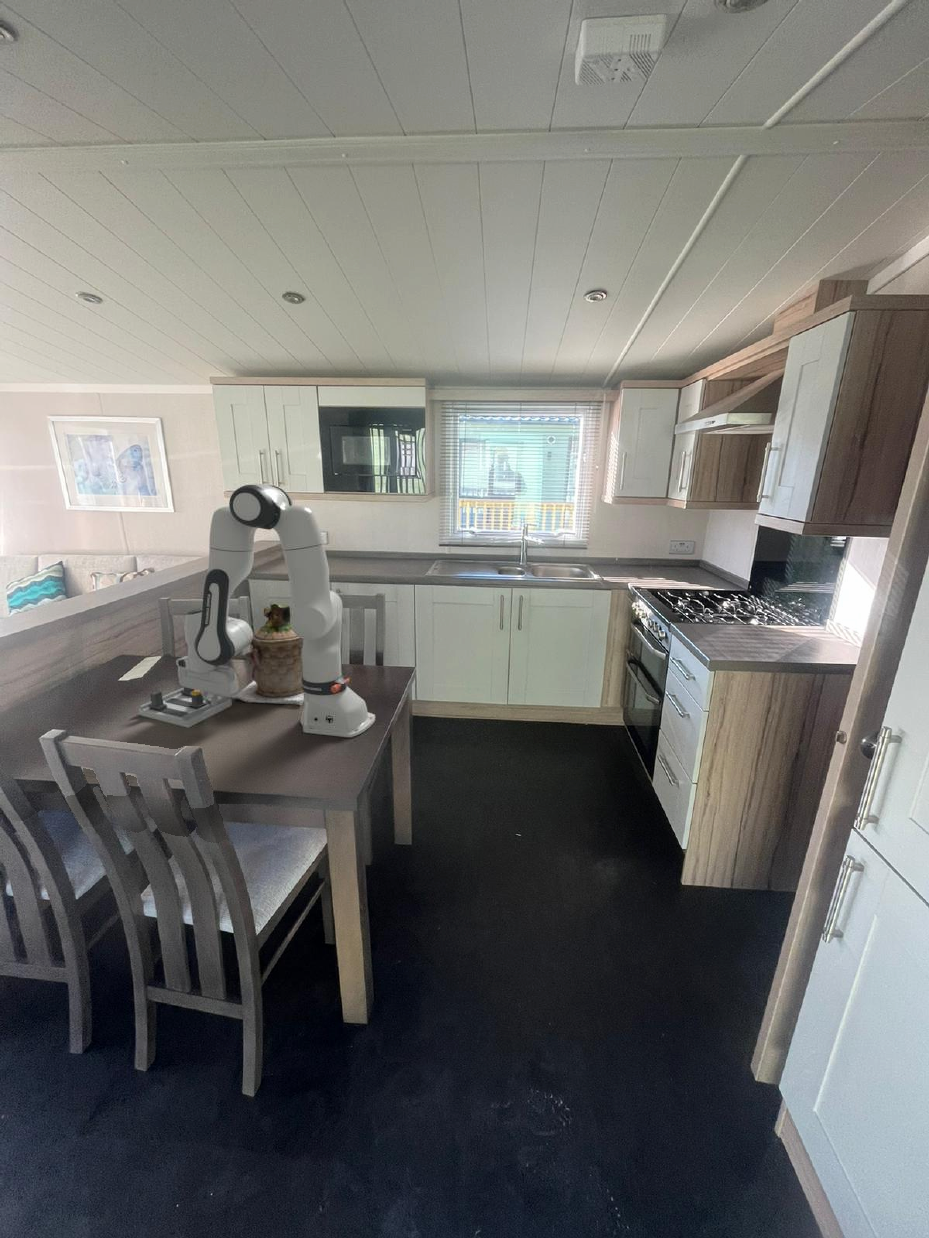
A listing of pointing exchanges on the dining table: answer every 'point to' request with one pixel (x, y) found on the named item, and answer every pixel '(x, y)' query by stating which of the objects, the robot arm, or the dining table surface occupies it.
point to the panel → (183, 709)
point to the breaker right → (187, 691)
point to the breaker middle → (197, 699)
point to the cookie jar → (275, 661)
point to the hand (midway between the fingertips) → (211, 704)
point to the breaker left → (157, 701)
